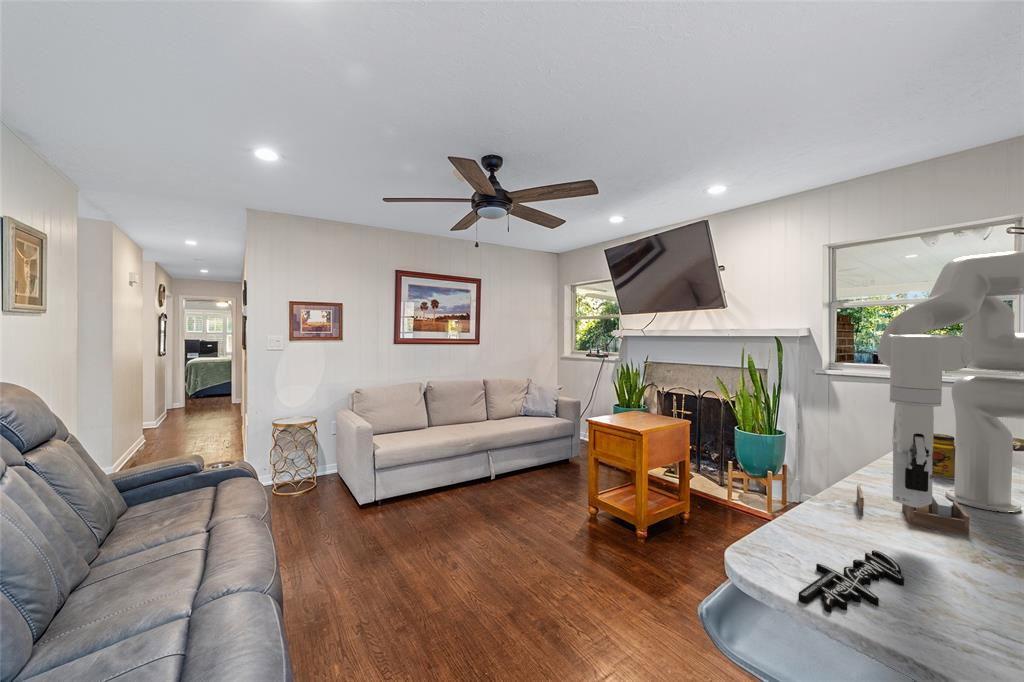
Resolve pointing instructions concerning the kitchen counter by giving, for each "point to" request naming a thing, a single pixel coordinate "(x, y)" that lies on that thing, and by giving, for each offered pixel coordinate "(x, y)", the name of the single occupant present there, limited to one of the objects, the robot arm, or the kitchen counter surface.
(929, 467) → the skincare box
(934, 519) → the walnut rack
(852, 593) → the nameplate
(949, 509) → the slate offcut
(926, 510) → the oak offcut
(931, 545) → the kitchen counter surface
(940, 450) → the condiment
